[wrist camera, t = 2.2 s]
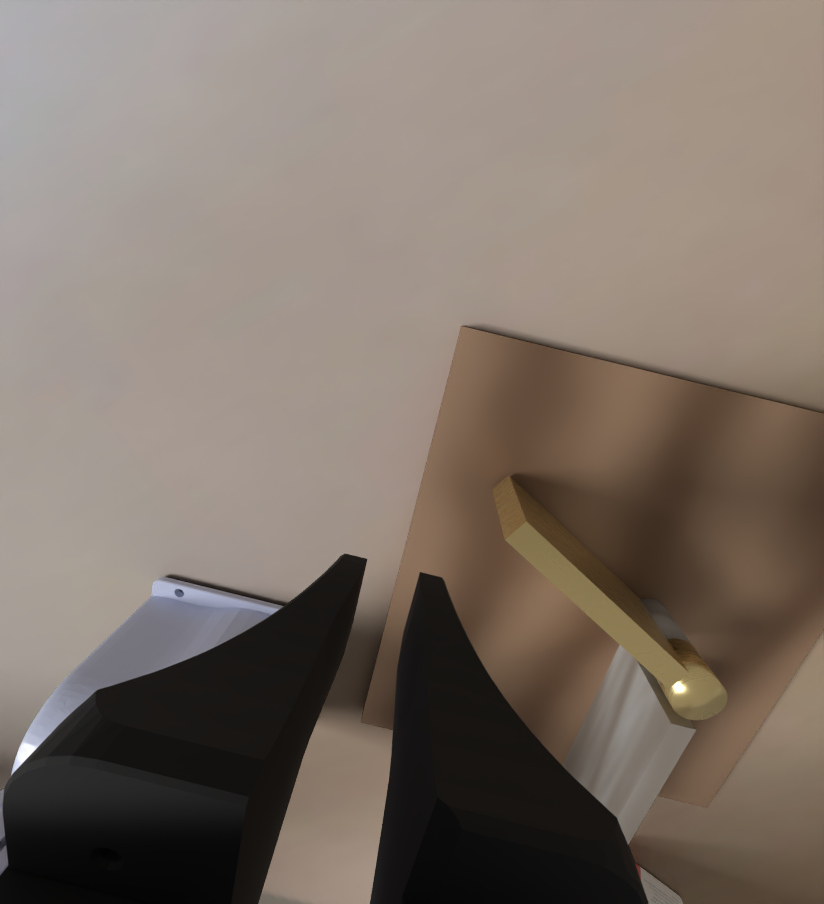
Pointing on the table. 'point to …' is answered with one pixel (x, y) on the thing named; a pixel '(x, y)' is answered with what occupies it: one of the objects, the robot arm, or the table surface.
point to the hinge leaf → (608, 602)
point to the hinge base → (620, 557)
